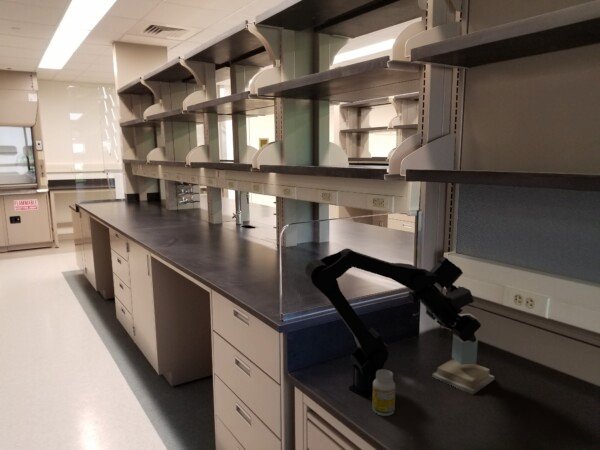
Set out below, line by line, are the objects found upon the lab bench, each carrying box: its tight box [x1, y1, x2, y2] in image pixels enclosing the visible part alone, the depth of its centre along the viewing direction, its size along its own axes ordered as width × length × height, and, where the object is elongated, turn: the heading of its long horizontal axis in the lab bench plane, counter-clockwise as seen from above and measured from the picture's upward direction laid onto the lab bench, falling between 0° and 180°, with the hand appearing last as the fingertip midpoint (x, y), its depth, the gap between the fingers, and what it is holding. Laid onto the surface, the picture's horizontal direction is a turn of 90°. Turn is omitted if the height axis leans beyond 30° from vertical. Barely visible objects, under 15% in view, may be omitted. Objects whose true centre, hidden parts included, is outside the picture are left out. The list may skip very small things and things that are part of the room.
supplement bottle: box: [371, 369, 396, 417], centre depth 104 cm, size 5×5×10 cm
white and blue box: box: [451, 313, 480, 365], centre depth 118 cm, size 5×5×12 cm
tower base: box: [431, 358, 495, 396], centre depth 119 cm, size 12×12×3 cm
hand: (469, 337), depth 118 cm, fingers closed on white and blue box, 5 cm apart
